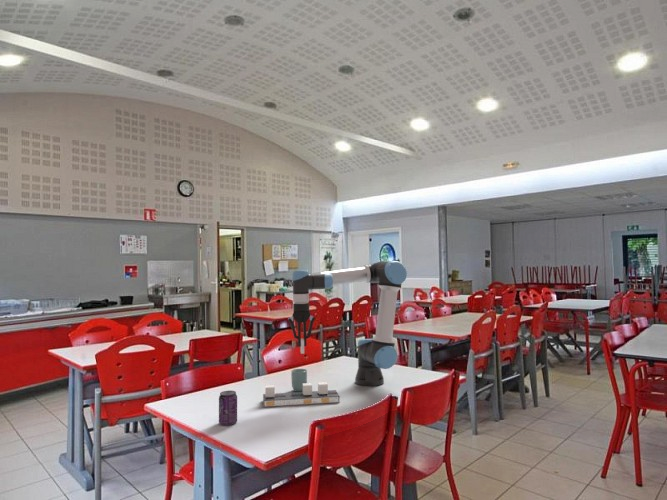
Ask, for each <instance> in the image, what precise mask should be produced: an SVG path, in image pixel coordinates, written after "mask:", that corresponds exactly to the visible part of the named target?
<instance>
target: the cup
mask: <svg viewBox="0 0 667 500" xmlns="http://www.w3.org/2000/svg"><path fill="white" fill-rule="evenodd" d="M307 370H308V369H306V368H295V369H294V368H293V369H292V370H291V374H290V375H291V387H292V390H293V392H294V391H295V392H303V383H308V371H307Z"/></svg>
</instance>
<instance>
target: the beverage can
mask: <svg viewBox="0 0 667 500" xmlns="http://www.w3.org/2000/svg"><path fill="white" fill-rule="evenodd" d="M219 393H220V394H219V397H218V424H220V425H222V426H232V425H235V424H236V423H238V395H237V391H236V390H223V391H221V392H219Z"/></svg>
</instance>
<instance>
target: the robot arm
mask: <svg viewBox="0 0 667 500" xmlns="http://www.w3.org/2000/svg"><path fill="white" fill-rule="evenodd" d="M407 275H408V271H407V269H406V267H405V265H404V264H403V263H402V262H400V261H397V260H386V261H377V262H374V263H369V264H364V265H363V266H362V267H354V268H345V269H337V270H329V271H321V272H313V273H311V272H309V270H308V269H297V270H293V272H292V302H293V304H292V306H293V307H292V308H293V309H292V310H293V313H292V316H290V317H288V318H287V320H288V322H289V323H290V328H291V330H292V331H291V332H292V335H293V338H294V339H296V340H297V345H298V347H299V348H300V354H303V355H304V354H305V347H306V346H307V339H309V338H311V335H312V328H313V325H314V322H315V320H316V317H315V316H313V315H311V312H310V303H309V302H310V290H311V291H312V290H327V289H331V288H333V286H337V285H339V286H340V285H347V284H353V283H362V282H365V283H367V284H369V283H377V284H378V287H379V289H380V295H379V302H378V311H377V320H376V326H375V327H376V328H375V336H374V337H372V338H363V339H359V340H358V341H357V342H358V343H357V361H358V364H357V366H358V369H357V371H356V375H355V378H354V382H355V384H357V385H359V386H363V387H365V386H366V387H374V386H376V387H377V386H380V385H383V384H384V382H385V381H384V379H385V378H384V375H383V372H382V370H381V369H383V370H388V369H390V368H391V369H392V367H393V366H395V365H396V363H397V360H398V352H397V350H396V348H395V346H396V345H395V344H396V342H395V340H394V339H393V335H394V326H395V319H396V310H397V301H398V300H397V299H398V293H399V291H400V290H401V289H402V284H403V283H404V282H405V281H406V279H407ZM294 320H295V322H296V323H297V332H296V328H295V325H294ZM308 321H309V325H308V329H307V322H308ZM301 323H302V325H301ZM301 326H302V328H301ZM301 331H302V332H301ZM302 337H303V338H302Z"/></svg>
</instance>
